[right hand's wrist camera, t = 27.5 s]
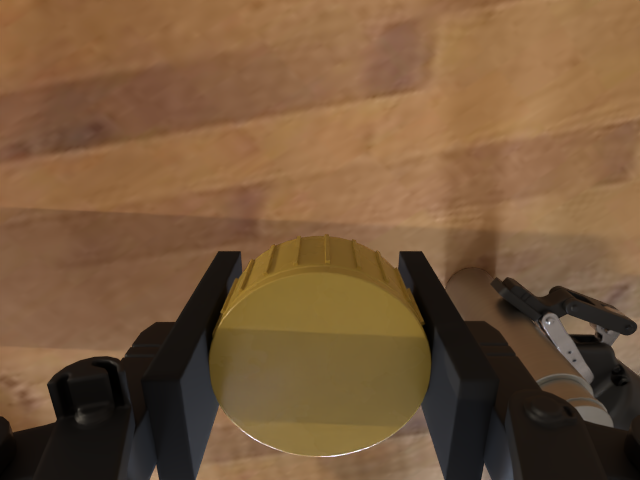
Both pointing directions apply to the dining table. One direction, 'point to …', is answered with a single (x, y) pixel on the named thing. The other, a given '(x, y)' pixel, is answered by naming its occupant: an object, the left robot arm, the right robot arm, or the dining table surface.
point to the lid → (320, 349)
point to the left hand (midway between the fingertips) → (473, 309)
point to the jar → (525, 342)
